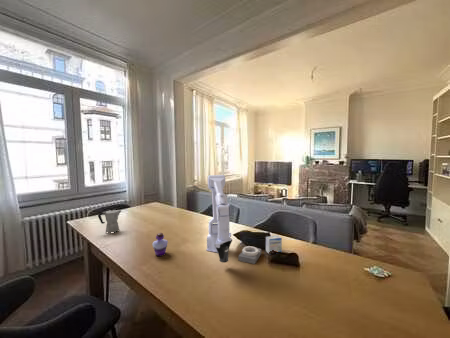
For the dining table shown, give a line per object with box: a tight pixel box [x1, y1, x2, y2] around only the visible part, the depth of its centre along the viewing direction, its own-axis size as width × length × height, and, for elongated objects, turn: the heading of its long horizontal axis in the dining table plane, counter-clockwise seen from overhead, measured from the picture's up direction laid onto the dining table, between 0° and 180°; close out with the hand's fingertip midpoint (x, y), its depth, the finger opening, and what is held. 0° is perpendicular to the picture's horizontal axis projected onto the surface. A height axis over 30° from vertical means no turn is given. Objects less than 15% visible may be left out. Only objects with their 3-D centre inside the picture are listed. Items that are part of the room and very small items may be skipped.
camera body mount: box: [237, 245, 262, 265], centre depth 114 cm, size 9×13×4 cm
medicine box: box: [265, 235, 283, 254], centre depth 120 cm, size 8×4×9 cm, turn 105°
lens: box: [218, 245, 229, 264], centre depth 103 cm, size 4×4×7 cm
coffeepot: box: [97, 207, 122, 233], centre depth 154 cm, size 15×9×18 cm, turn 129°
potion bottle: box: [151, 232, 169, 257], centre depth 118 cm, size 9×9×12 cm
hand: (223, 256), depth 103 cm, fingers closed on lens, 4 cm apart
